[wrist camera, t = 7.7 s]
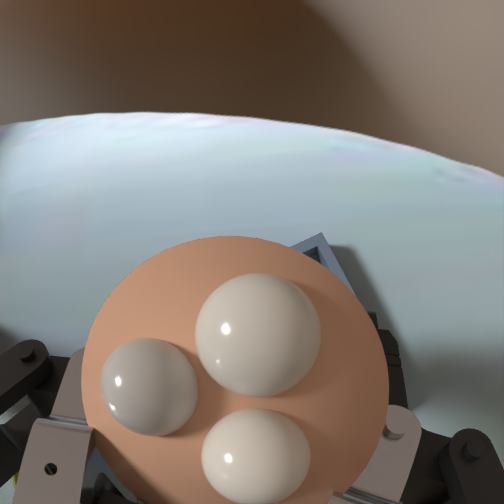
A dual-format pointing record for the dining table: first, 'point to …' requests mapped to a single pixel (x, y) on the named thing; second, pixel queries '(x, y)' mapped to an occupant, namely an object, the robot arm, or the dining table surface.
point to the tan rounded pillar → (234, 377)
